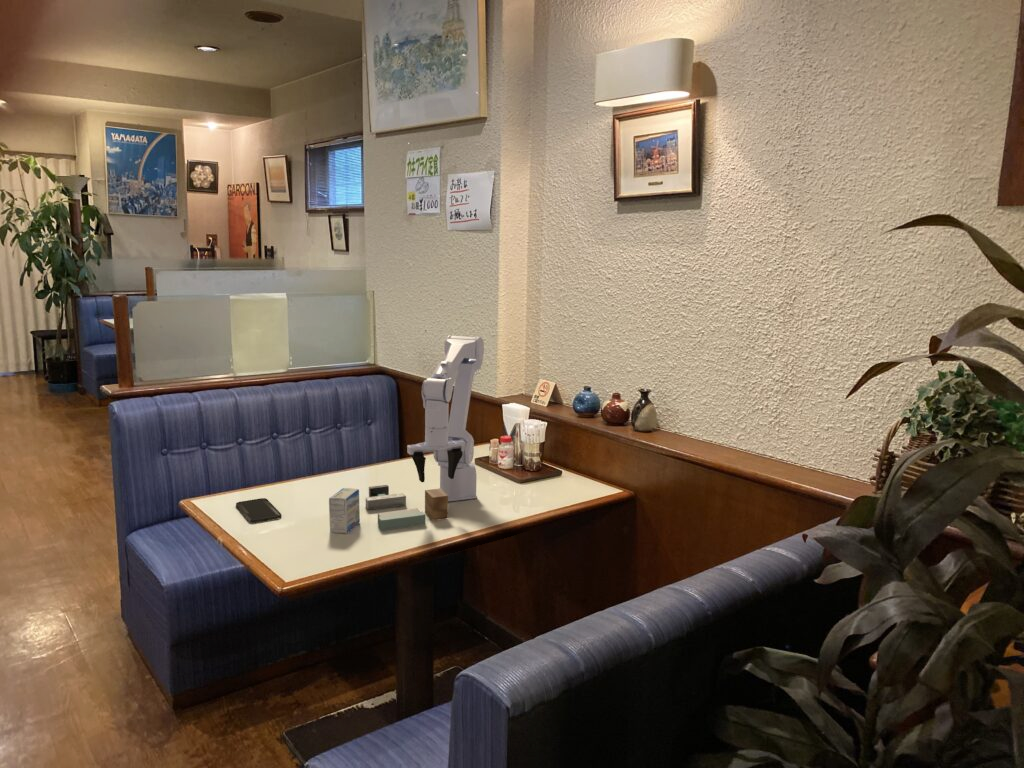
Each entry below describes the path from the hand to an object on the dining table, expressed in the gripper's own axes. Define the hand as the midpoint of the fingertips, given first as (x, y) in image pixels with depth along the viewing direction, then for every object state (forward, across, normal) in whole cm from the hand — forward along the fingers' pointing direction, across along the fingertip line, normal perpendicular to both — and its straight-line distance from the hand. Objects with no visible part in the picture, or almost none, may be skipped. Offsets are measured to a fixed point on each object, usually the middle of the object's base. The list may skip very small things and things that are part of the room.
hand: (436, 479), depth 191 cm
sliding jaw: (+9, -10, +14) cm, 20 cm away
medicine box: (+10, -23, 0) cm, 25 cm away
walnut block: (+10, 0, 0) cm, 10 cm away
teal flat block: (+9, -10, -2) cm, 14 cm away
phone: (+10, -41, +18) cm, 46 cm away
